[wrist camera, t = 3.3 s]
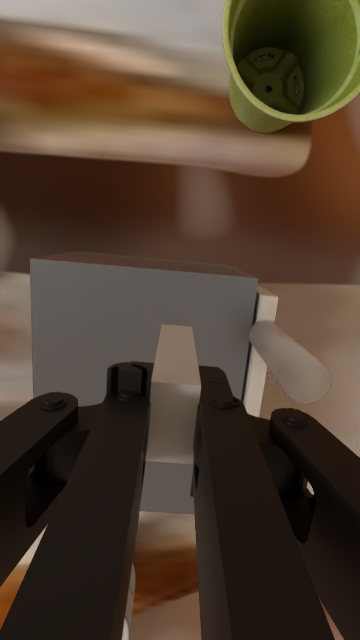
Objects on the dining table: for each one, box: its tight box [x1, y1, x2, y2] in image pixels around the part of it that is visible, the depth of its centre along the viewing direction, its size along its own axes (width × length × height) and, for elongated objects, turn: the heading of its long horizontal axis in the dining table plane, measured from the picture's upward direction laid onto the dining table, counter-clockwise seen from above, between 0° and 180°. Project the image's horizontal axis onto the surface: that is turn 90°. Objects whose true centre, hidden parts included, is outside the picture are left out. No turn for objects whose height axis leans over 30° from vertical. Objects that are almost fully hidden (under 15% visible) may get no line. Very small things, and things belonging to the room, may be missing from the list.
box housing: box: [30, 251, 259, 514], centre depth 27 cm, size 14×18×10 cm
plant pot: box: [222, 0, 360, 133], centre depth 22 cm, size 9×9×9 cm
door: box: [241, 285, 332, 417], centre depth 24 cm, size 2×17×17 cm, turn 175°
